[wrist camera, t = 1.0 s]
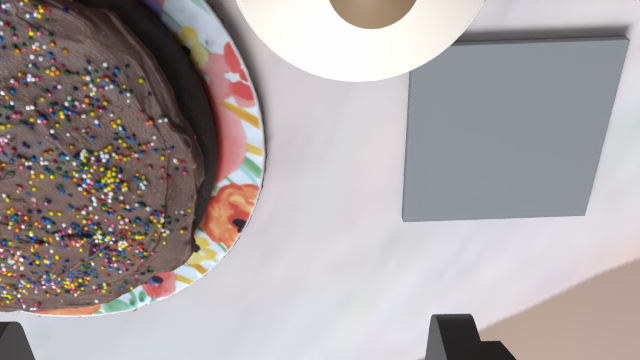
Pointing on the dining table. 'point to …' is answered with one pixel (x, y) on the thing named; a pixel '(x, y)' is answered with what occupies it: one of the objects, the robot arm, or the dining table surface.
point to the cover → (359, 33)
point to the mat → (509, 128)
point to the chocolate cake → (120, 152)
